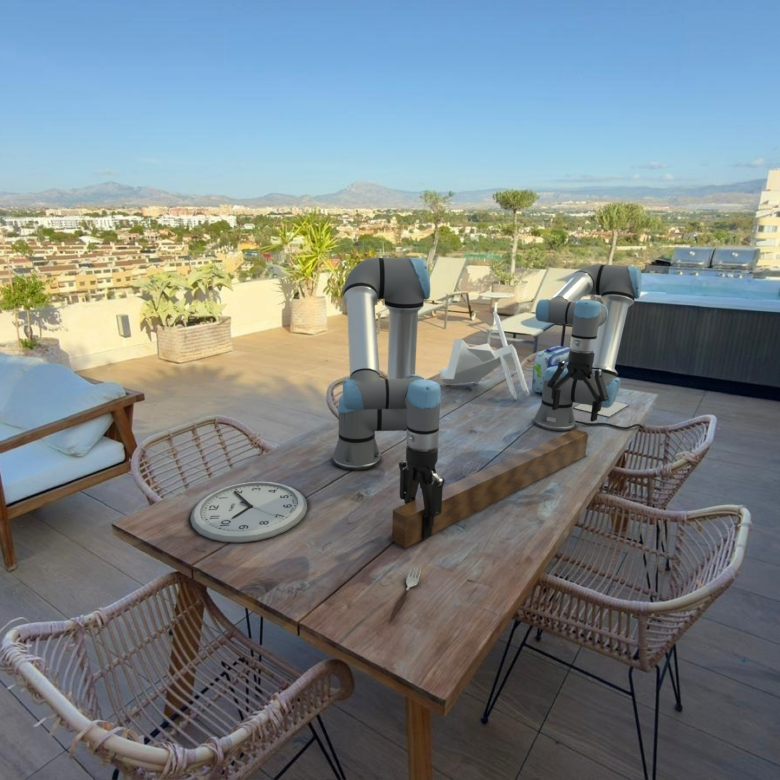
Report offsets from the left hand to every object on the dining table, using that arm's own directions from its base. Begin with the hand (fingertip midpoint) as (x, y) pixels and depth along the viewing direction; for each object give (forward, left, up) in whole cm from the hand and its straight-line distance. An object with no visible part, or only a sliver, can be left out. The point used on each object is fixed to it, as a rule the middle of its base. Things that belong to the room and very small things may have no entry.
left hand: (418, 531), depth 130 cm
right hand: (-21, +66, +15) cm, 71 cm away
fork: (+20, -13, -1) cm, 24 cm away
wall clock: (-26, -37, -1) cm, 45 cm away
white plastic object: (-95, +78, -1) cm, 123 cm away
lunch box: (-85, +112, -1) cm, 141 cm away
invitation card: (-59, +117, -1) cm, 131 cm away
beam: (-11, +33, -1) cm, 35 cm away
